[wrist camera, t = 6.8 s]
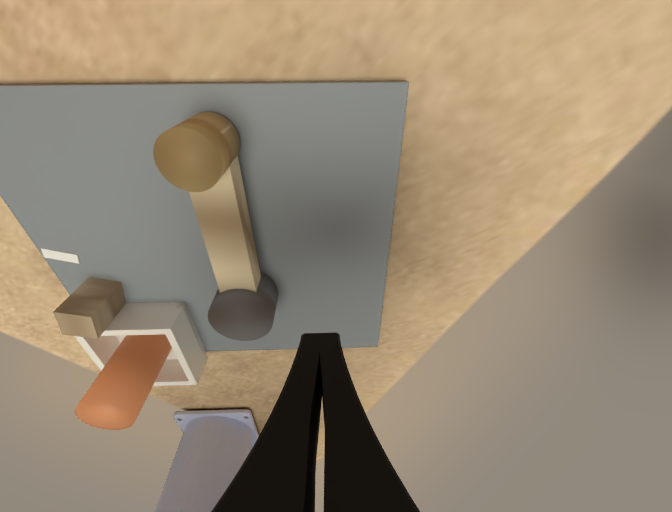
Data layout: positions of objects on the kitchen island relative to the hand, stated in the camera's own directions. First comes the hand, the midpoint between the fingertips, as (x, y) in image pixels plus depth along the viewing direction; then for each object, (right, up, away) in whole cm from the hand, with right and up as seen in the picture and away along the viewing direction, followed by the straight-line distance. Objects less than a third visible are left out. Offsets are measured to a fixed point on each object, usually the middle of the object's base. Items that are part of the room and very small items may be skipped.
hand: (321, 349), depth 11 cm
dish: (-13, -2, +12) cm, 18 cm away
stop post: (-15, +1, +9) cm, 18 cm away
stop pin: (-13, -3, +11) cm, 18 cm away
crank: (-5, +5, +7) cm, 10 cm away
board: (-7, +4, +8) cm, 12 cm away
